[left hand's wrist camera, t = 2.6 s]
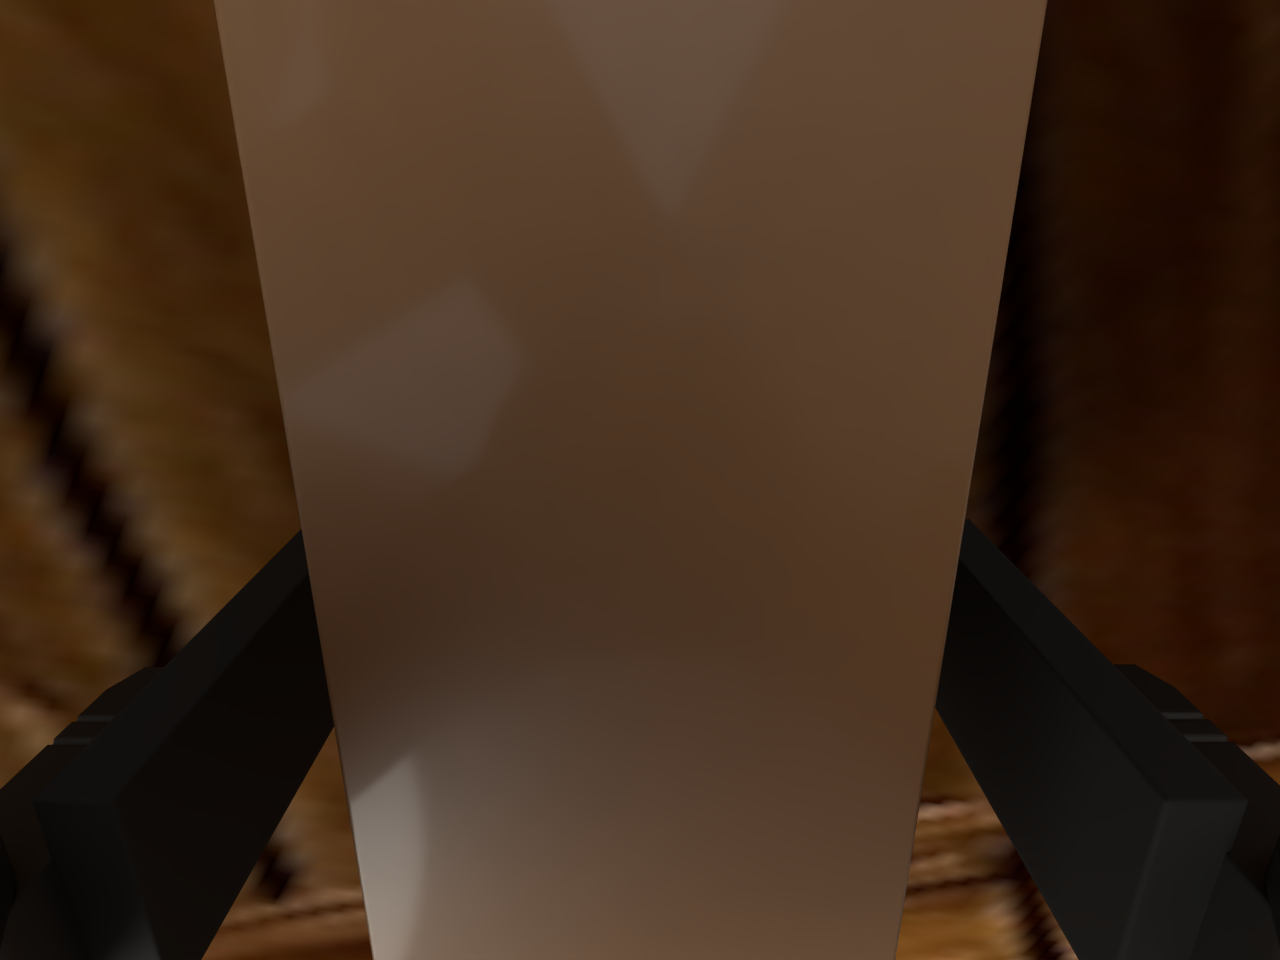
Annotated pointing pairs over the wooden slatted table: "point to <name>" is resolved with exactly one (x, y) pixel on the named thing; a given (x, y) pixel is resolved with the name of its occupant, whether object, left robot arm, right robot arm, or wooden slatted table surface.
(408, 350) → the bar
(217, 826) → the left robot arm
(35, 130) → the wooden slatted table surface
